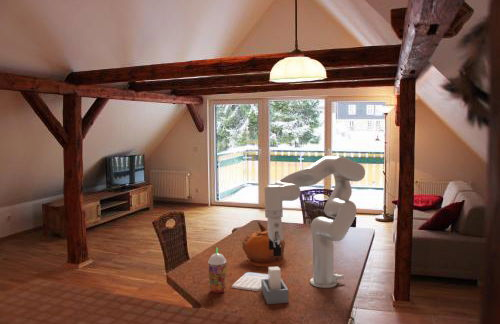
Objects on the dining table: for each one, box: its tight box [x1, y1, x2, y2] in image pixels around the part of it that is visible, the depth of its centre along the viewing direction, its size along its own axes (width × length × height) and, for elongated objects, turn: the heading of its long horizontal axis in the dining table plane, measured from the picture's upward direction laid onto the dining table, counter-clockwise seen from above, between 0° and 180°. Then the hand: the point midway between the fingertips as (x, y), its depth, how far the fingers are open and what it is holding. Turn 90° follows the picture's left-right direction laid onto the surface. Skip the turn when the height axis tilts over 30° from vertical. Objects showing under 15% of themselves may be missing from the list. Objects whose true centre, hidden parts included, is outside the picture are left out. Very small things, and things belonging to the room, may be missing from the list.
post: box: [267, 266, 282, 290], centre depth 169 cm, size 4×4×12 cm
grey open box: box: [261, 278, 290, 305], centre depth 169 cm, size 9×14×6 cm, turn 8°
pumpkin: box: [241, 220, 287, 268], centre depth 220 cm, size 22×25×23 cm
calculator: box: [231, 271, 268, 292], centre depth 187 cm, size 13×20×2 cm, turn 159°
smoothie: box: [207, 247, 227, 294], centre depth 176 cm, size 8×8×20 cm
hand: (274, 252), depth 168 cm, fingers open, 9 cm apart
